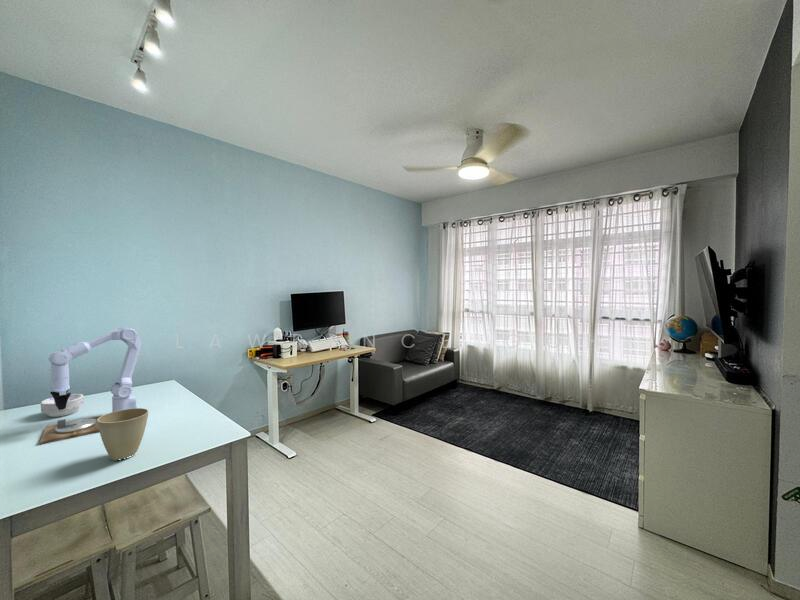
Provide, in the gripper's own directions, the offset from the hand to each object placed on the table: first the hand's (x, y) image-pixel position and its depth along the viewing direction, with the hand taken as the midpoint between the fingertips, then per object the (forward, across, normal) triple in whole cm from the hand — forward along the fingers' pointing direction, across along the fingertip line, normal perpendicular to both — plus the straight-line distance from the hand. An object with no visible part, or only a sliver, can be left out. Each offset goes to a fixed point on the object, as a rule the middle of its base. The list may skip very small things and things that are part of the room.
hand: (60, 407), depth 146 cm
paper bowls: (+10, -26, +4) cm, 28 cm away
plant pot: (+10, +52, +11) cm, 54 cm away
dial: (+9, +6, +4) cm, 11 cm away
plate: (+10, +6, +4) cm, 12 cm away
